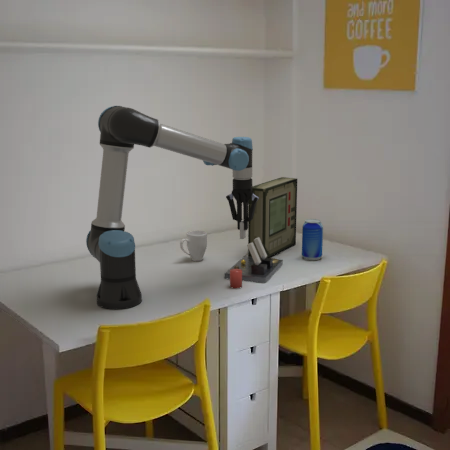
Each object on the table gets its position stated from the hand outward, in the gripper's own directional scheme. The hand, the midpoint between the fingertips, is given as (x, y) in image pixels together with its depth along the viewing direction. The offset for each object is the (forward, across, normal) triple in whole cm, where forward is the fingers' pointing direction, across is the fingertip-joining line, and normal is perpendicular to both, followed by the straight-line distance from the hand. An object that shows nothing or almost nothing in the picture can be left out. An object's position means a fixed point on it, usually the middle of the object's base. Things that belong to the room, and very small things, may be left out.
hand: (242, 237), depth 244 cm
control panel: (+13, -4, -28) cm, 31 cm away
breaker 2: (+8, -9, 0) cm, 12 cm away
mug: (+13, +23, -4) cm, 26 cm away
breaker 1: (+8, -9, +8) cm, 15 cm away
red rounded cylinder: (+13, -4, +20) cm, 24 cm away
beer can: (+13, -22, -24) cm, 35 cm away
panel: (+13, -5, +1) cm, 14 cm away
